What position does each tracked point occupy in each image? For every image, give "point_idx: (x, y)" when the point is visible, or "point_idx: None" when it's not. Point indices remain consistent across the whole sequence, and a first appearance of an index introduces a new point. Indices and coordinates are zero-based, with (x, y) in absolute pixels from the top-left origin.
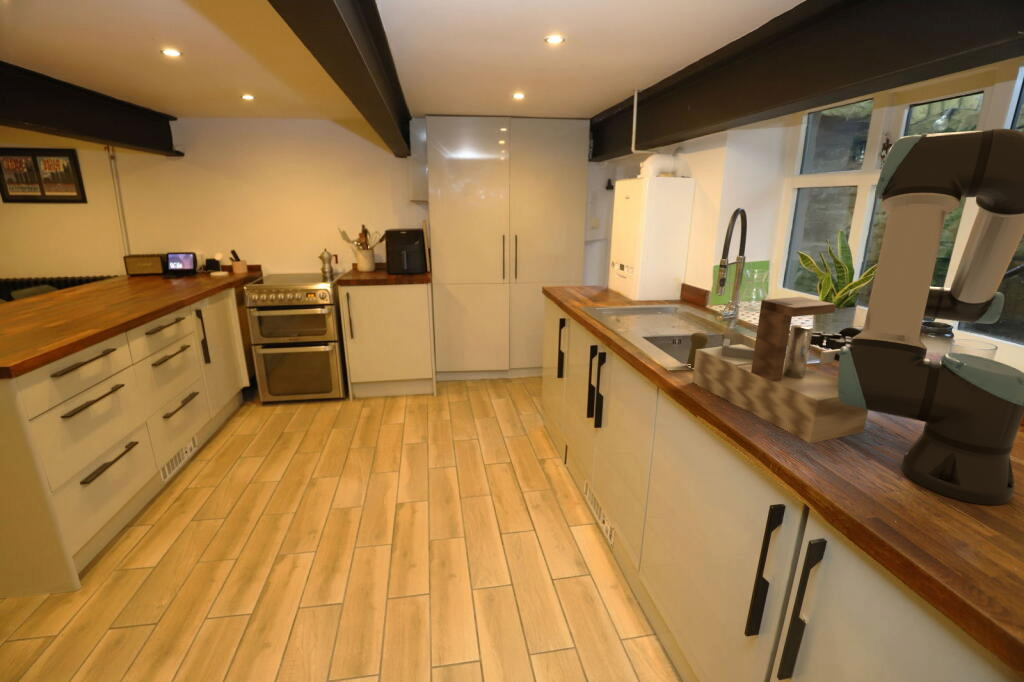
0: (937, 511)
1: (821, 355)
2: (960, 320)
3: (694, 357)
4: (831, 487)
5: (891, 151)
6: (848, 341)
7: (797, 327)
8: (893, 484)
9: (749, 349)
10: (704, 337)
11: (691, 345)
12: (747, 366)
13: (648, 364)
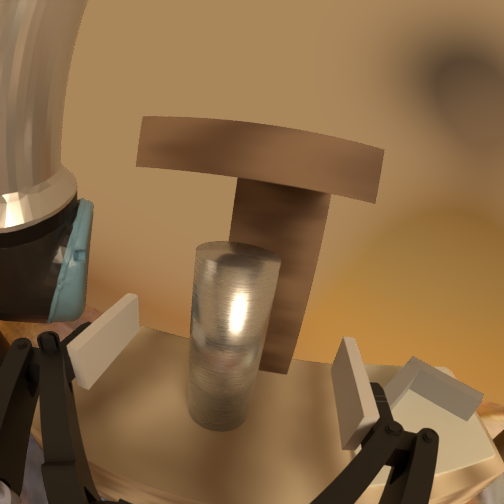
0: (12, 324)
1: (136, 307)
2: None
3: (494, 438)
4: (88, 317)
5: None
6: (61, 467)
7: (244, 247)
8: (34, 345)
9: (392, 390)
10: None
11: None
12: (327, 380)
13: (485, 403)
